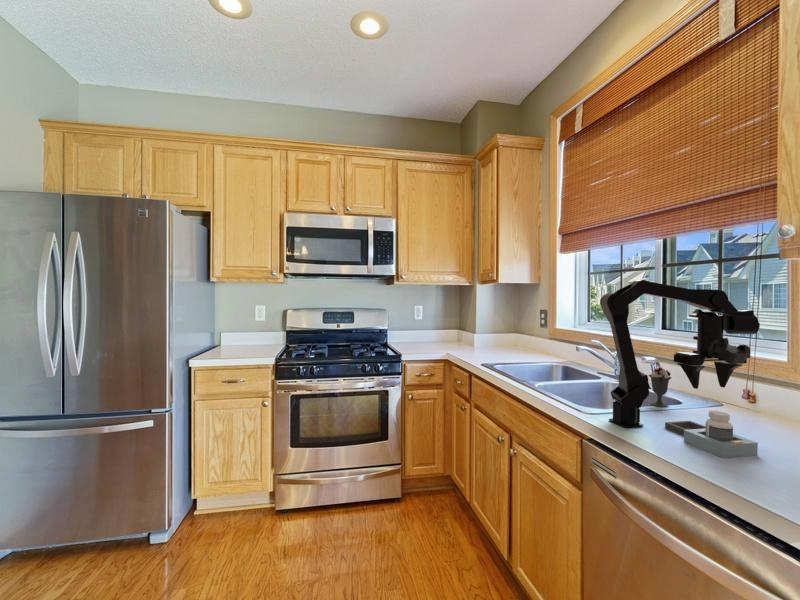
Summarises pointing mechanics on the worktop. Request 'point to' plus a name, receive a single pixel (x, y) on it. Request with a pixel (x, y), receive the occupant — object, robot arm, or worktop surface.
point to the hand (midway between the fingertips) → (709, 387)
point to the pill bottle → (719, 426)
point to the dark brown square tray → (682, 426)
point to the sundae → (660, 384)
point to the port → (721, 444)
